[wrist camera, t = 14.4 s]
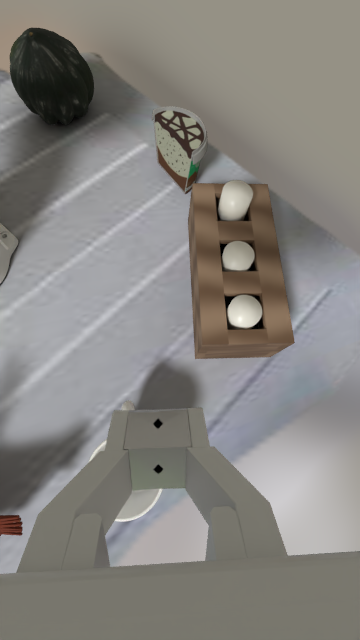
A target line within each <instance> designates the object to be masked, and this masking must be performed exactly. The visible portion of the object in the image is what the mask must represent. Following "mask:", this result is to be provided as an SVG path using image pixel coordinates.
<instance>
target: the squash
mask: <svg viewBox="0 0 360 640" xmlns="http://www.w3.org/2000/svg"><path fill="white" fill-rule="evenodd" d="M10 63H11V65H10V75H11V79H12V83H13V85H14V88H15V90H16V92H17V93H18V95H19V97H20V98H21V99H22V100H23V101H24V103H25V104H26V106H27V107H28V108H29V109H30V110H31V111H32V112H33V113H35V114H38V115H40V117H41V118H42V119H43V120H44V121H45V122H46V123H48V124H50V125H54V124H56V123H57V122H58V121H60V122H61V123H63V124H64V125H68V124H69V123H70V122H71V121H72V119H73V117H78V118H81V117H83V116H85V114H86V113H87V110H88V105H89V104H90V102H91V100H92V97H93V92H94V82H93V76H92V73H91V70H90V68H89V66H88V64H87V63H86V61H85V60H84V59H83V57H82V56H81V55H80V54H79V52H78V50H77V48H76V47H75V46H74V45H73V44H72V43H71V42H70V41H69V40H67V39H65V38H64V37H62V36H59V35H58V34H56V33H55V32H52V31H49V30H46V29H41V28H29V29H27V30H26V31H24V32H23V34H22V35H21V36H20V37H19V38H18V39H17V40H16V41H15V42H14V44H13V46H12V48H11V53H10Z"/></svg>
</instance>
